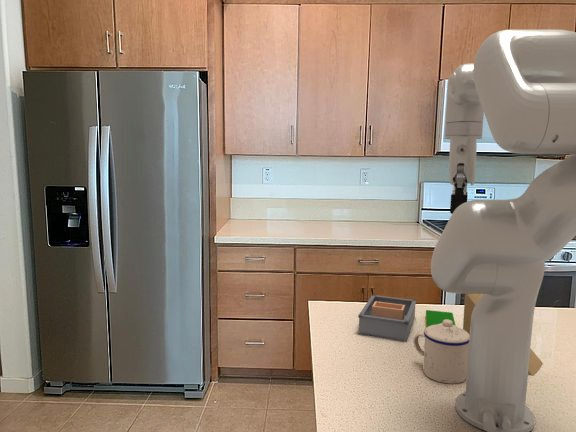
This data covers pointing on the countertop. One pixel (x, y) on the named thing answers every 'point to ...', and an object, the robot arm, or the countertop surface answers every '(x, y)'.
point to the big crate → (387, 320)
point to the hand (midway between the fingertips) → (458, 211)
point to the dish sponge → (438, 317)
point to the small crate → (388, 310)
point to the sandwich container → (468, 309)
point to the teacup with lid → (444, 352)
